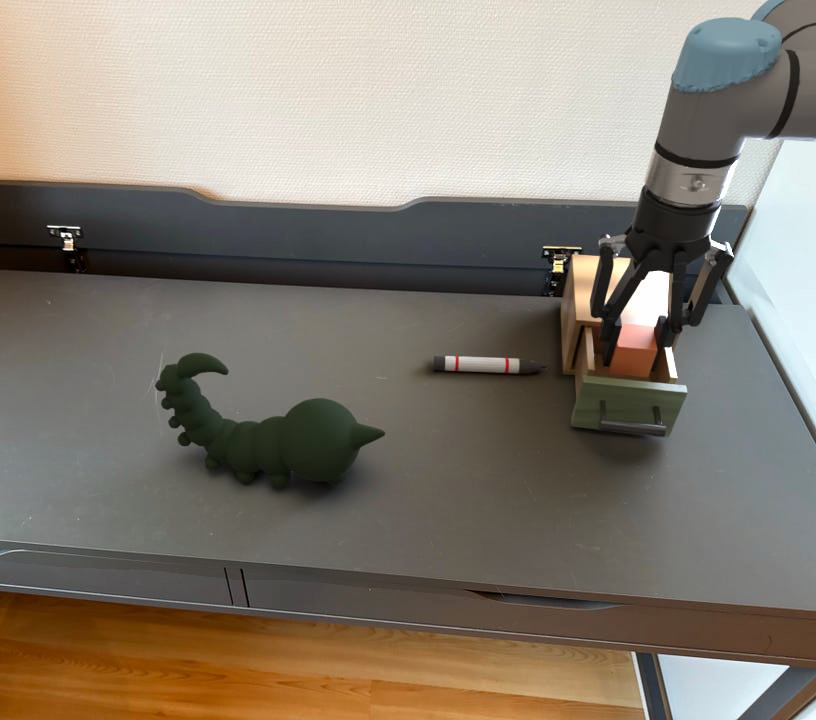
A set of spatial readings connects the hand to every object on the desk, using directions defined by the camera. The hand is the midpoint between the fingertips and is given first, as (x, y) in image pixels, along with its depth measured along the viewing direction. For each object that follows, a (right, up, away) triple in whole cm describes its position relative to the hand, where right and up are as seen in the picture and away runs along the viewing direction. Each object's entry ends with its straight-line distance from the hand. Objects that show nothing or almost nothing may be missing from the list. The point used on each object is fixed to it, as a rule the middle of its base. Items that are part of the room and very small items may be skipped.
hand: (627, 361), depth 86 cm
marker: (-14, -1, +11) cm, 18 cm away
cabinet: (+3, +2, +13) cm, 14 cm away
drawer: (0, -6, +4) cm, 7 cm away
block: (0, 0, 0) cm, 0 cm away
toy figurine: (-42, -13, 0) cm, 44 cm away
